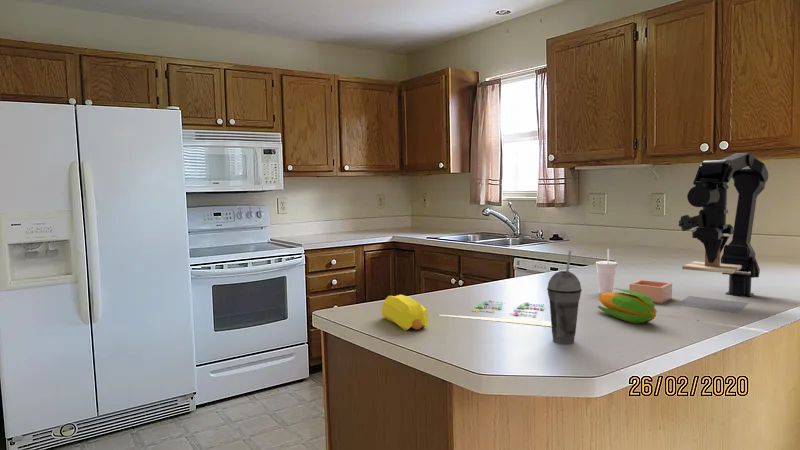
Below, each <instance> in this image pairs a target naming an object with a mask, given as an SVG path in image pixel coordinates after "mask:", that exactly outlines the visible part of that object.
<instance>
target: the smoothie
mask: <svg viewBox="0 0 800 450" xmlns="http://www.w3.org/2000/svg"><path fill="white" fill-rule="evenodd" d="M606 253H607V254H606V255H607V260H599V261H598V260H597V261H596V262H595V266H596V271H597V284H598V292H599V293H600V295H601V294H603V293H605V292H609V293H613V290H614V285H615V284H614V283H615V276H616V270H617V267H618V262H615V261H610V248H607V252H606Z"/></svg>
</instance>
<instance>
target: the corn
mask: <svg viewBox="0 0 800 450" xmlns="http://www.w3.org/2000/svg"><path fill="white" fill-rule="evenodd" d="M613 290H615V291H616V290H617V291H621V292H612V293H609V292H605V293H603V294H601V293H600V295H599V296H598V301H600V303H601V305H603V306H600V305H597V308H598V309H599V310H601V311H602V312H604V313H605V314H606V315H608V316H612V317H613V318H615V319H618V320H622V321H625V322H627V323H631V324H634V325H637V324H641V323H645V324H646V323H649V322H651V321H653V320H654V319H655V317H656V316H657V312H658V311H657V309H656V307H655V303H653V302H652V300H651V299H650V298H649V297H647V296H645V295H643V294H641V293H639V292H635V291H631V290H629V289H625V288H616V287H613ZM630 294H632V295H630ZM634 295H635V296H634Z"/></svg>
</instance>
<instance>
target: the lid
mask: <svg viewBox="0 0 800 450" xmlns="http://www.w3.org/2000/svg"><path fill="white" fill-rule="evenodd" d="M681 268H682V270H688V271H699V272H700V271H701V272H710V273H721V274H722V273H730V274H733V273H734V272H736V271H738V270H739V269H741V268H742V265H734V264H722V263H721V253H720V249H719V251H718V253H717V255H716V258H715V260H714V262H713V263H709V262H708V258H707V254H706V251H704V261H695V260H694V261H691V262H689V263H687V264H684V265H682V267H681ZM738 272H739V271H738Z"/></svg>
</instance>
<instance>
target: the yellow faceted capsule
mask: <svg viewBox="0 0 800 450" xmlns="http://www.w3.org/2000/svg"><path fill="white" fill-rule="evenodd" d="M380 315H381V316H383V317H384V318H385V319H386V320H388V321H390V322H392V323H395V324H396V325H398V326H399V327H400V328H401V329H402V330H404V331H408V330H409V329H410V328H412V329H413V330H414V331H415V330H416V331H417V330H420V329H424V328H427V325H428V324H429V317H428V312H427V309H426V307H424V306H423V304H421V303H420V302H418V301H417V300H415V299H414V298H412V297H410V296H408V295H404V294H397V295H394V296H393V295H388V296H387V297H386V298H385V299H384V301H383V302H382V308H381V314H380Z"/></svg>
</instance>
